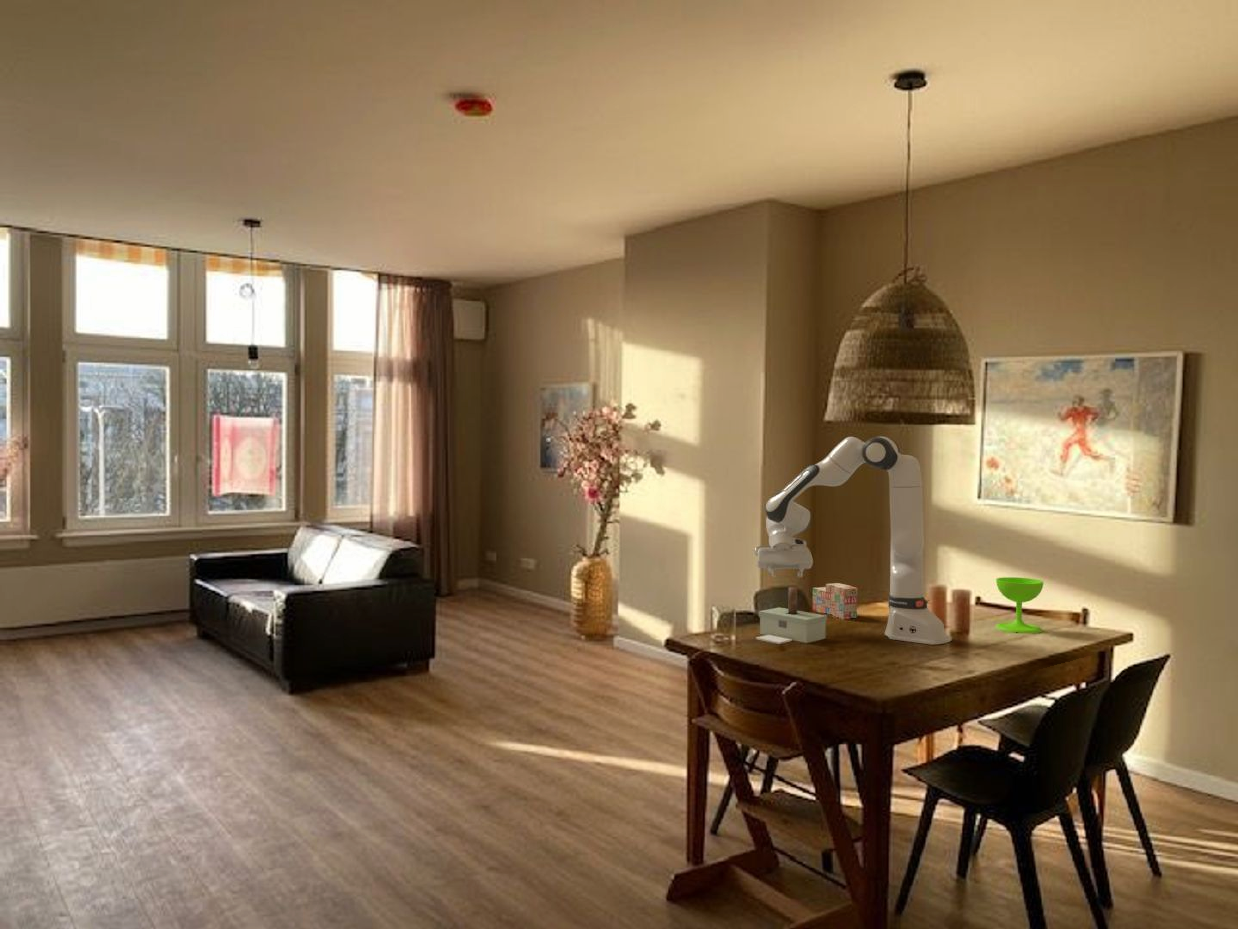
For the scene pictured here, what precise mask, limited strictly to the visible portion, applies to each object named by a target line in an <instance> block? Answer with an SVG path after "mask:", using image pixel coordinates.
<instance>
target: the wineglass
mask: <svg viewBox="0 0 1238 929" xmlns="http://www.w3.org/2000/svg"><path fill="white" fill-rule="evenodd" d="M995 580H996V586H997V589H998V591H999V592H1000V593H1001V595H1002V596H1004V597H1005V598H1006V599H1007V600H1009V601H1011V602H1015V603H1016V607H1015V608H1016V610H1015V612H1016V613H1015V614H1016V615H1015V620H1014V621H1012V622H1008V621H1007V622H1000V623H997V624H996V625H995V627H996V628H997V630H998V629H999V631H1001V630H1002V631H1001V632H1006V633H1007V632H1008V633H1012V632H1018V633H1017V634H1021V633H1035V634H1040V633H1039V632H1041V633H1043V629H1042V628H1041V627H1040V626H1038V625H1036V624H1031V623H1025V622H1024V621H1023V619H1022V618H1023V616H1022V614H1023V603H1027V602H1031V601H1032V600H1034V599H1037V597H1039V595H1040V593H1041V592H1042V589H1043V587H1044V581H1043V580H1041V579H1035V578H1028V577H1017V576H1014V577H1013V576H1012V577H1011V576H1009V577H1008V576H1007V577H1006V576H1003V577H997V578H996V579H995ZM996 628H995V629H996Z"/></svg>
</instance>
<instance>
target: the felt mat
mask: <svg viewBox="0 0 1238 929" xmlns="http://www.w3.org/2000/svg"><path fill="white" fill-rule="evenodd" d="M755 640H758V641H762V642H767V643H772V644H776V645H777V644H778V645H781V644H786V643H791V642H792V641H793V640H792V639H787V638H782V637H777V636H772V635H761V636H757V637H755Z"/></svg>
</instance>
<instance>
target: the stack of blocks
mask: <svg viewBox="0 0 1238 929" xmlns="http://www.w3.org/2000/svg"><path fill="white" fill-rule="evenodd" d="M811 591H812V593H811V594H812V611H814V612H817V613H821V614H823V613H827V614H826V616H829V615H828V614H832V615H833V616H832V617H834V616H835V617H834V618H837V617H839V618H838V619H840V618H841V619H840V620H843V619H846V620H852V619H851V618H857V617H858V616H857V615H858V613H857V612H858V587H855V586H852V585H848V584H843V583H841V582H840V583H839V582H836V583H834V582H833V583H826V584H825V586H822V587H821V586H820V587H812V590H811ZM857 619H858V618H857Z"/></svg>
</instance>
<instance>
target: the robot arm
mask: <svg viewBox="0 0 1238 929" xmlns="http://www.w3.org/2000/svg"><path fill="white" fill-rule="evenodd" d="M865 463H866V464H867V465H869V466H870V467H872V468H876V469H880V470H883V471H887V473H888V479H889V480H888V481H889V482H888V483H889V513H890V515H889V517H890V518H889V519H890V565H889V566H890V572H889V573H890V574H889V575H890V576H889V577H890V579H889V584H890V585H889V586H890V587H889V594H888V616H887V617H888V619H887V623H886V624H887V625H886V628H885V631H884V635H885V636H887V637H888V639H890V640H893V641H894V640H896V641H904V642H909V643H911V642H912V643H916V644H917V643H918V644H923V645H924V644H925V645H932V646H933V645H942V644H946V643H949V642H951V641H952V636H950V635H946V631H945V625H944V623H943V621H942V620H941V619H940V618H939V617H938V616H936V614H935V613H933V612H932V611H931V610H930V609H929V608H928V604H930V599H928V600H926V599H925V597H924V584H923V583H924V560H923V559H924V554H923V553H924V552H923V551H924V549H925V535H924V534H925V526H924V508H923V507H924V506H923V505H924V504H923V501H924V500H923V479H922V478H923V477H922V471H921V466H920V462H919V460H918V458H916V457H914V456H913V455H910V454H909V455H908V454H901V453H900V447H899V446H898V444H897V442H895V440H894V439H891V438H889V437H887V436H875V437H871V438H869V439H868V440H866V441H865V442H864V441H862V439H859V438H858V437H854V436H848V437H846V438H844V439H843V440H842V441H840V442H839V443H838V444H837V445H836V446H835V447H833V449H832V450H831V452H830V453H828V455H827V456H826V457H824V458H823V459H822V460H821V461H819V462H817V463H815V464H812V465H809V466H807V467H806V468H804V469H803V470H801V472H800V473H798V475H797V476H796V477H794V478H793V479H792V480H791V481H790V482H789V483H788V484H786V486H784V487H783V488H782V489H781V490H780V491H778V492H777V493H776V494H773V495H772V496H771V497H770V498H769V499H768V500H767V502H766V504H765V506H764V507H765V514H766V520H765V525H766V526H765V528H766V532H767V533H766V534H767V536H768V544H769V545H759V546H758V547H755V549H754V554H755V556H756V566H757V568H759V570H761V569H762V570H763V569H764V570H765V569H766V570H767V571H768V573H770V574H771V577H772V578H777V570H780V569H781V570H782V569H783V570H784V569H786V570H787V569H788V570H789V569H794V570H795V569H797V570H798V569H799V570H798V571H797V573H796V574H797V578H803V575H804V574H803V572H804V570H809V569H811V568H812V566H813V563H814V560H813V556H812V552H811V550H810V549H809V548H808V546H807V541H806V540H803V539H800V538H797V537H793V536H797V535H799V534H800V533H803V532H804V531H805V530H806V531H807V529H808V528H809V527H810V525H811V520H812V516H811V515H812V514H811V511H810V510H809V509H807V508H806V507H804V506H802V505H800V504H799V503H796V502H794V500H796V499H797V498H798V497H799V496H800V495H802V493H803V492H804V491H806V490H807V489H808V488H810V487H814V486H827V487H838V486H842V485H843V484H845V483H846V482H847V481H848V480H849V479H850V477H852V475H853V474H854V473H855V471H856V470H857V469H858V468H860V466H862V464H865ZM774 569H775V570H774ZM776 569H777V570H776Z"/></svg>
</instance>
